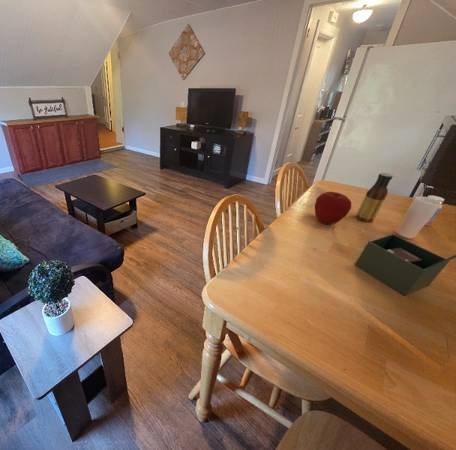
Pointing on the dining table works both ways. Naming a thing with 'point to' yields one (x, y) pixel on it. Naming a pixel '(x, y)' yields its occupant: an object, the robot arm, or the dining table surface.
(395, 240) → the bin
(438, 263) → the flap
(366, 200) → the sauce bottle
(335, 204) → the apple
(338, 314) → the dining table surface
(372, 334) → the dining table surface
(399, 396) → the dining table surface
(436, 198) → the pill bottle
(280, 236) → the dining table surface
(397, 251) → the box
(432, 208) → the white coffee cup
